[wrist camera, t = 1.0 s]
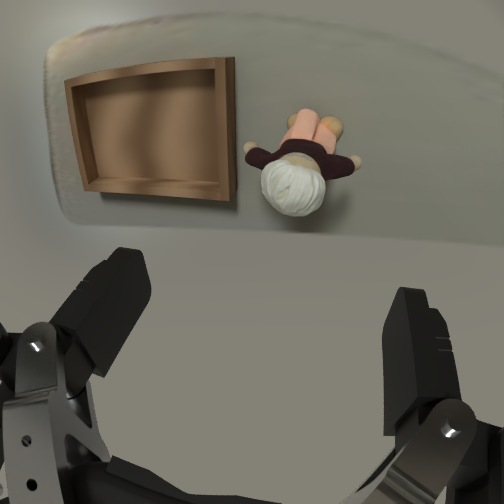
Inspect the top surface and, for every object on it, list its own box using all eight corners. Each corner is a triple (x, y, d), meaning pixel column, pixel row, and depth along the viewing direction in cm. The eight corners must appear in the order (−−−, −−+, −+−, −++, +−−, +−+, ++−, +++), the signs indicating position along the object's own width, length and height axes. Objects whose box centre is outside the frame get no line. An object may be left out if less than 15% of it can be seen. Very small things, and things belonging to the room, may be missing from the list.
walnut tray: (234, 56, 22) (224, 57, 20) (237, 188, 29) (229, 201, 27) (80, 75, 25) (64, 80, 23) (97, 180, 32) (84, 191, 30)
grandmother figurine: (353, 104, 22) (373, 155, 12) (356, 150, 24) (372, 232, 14) (257, 111, 24) (201, 165, 14) (265, 154, 26) (218, 234, 17)
